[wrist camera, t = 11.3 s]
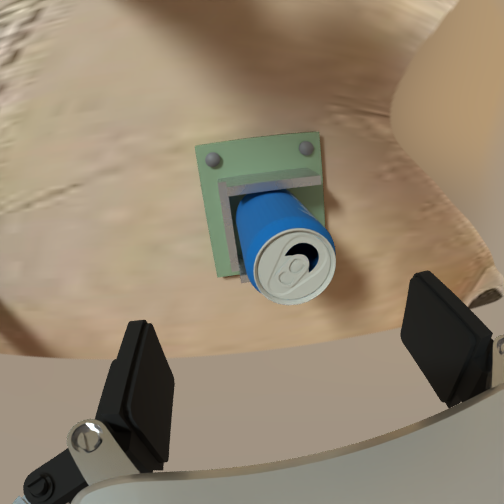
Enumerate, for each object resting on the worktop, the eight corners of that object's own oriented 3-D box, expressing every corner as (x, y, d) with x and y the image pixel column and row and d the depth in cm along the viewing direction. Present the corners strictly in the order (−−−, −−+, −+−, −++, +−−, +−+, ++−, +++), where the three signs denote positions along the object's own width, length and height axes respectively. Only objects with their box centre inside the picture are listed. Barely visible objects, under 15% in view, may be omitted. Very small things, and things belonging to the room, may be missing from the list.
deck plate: (195, 145, 29) (194, 147, 28) (316, 131, 29) (320, 132, 28) (217, 273, 35) (217, 279, 34) (323, 257, 35) (327, 262, 34)
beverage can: (311, 208, 32) (359, 257, 21) (272, 255, 33) (299, 324, 22) (262, 170, 30) (290, 202, 19) (222, 222, 31) (226, 281, 20)
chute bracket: (217, 178, 30) (216, 188, 25) (307, 167, 30) (320, 175, 26) (231, 263, 33) (232, 284, 29) (312, 251, 34) (324, 270, 30)
